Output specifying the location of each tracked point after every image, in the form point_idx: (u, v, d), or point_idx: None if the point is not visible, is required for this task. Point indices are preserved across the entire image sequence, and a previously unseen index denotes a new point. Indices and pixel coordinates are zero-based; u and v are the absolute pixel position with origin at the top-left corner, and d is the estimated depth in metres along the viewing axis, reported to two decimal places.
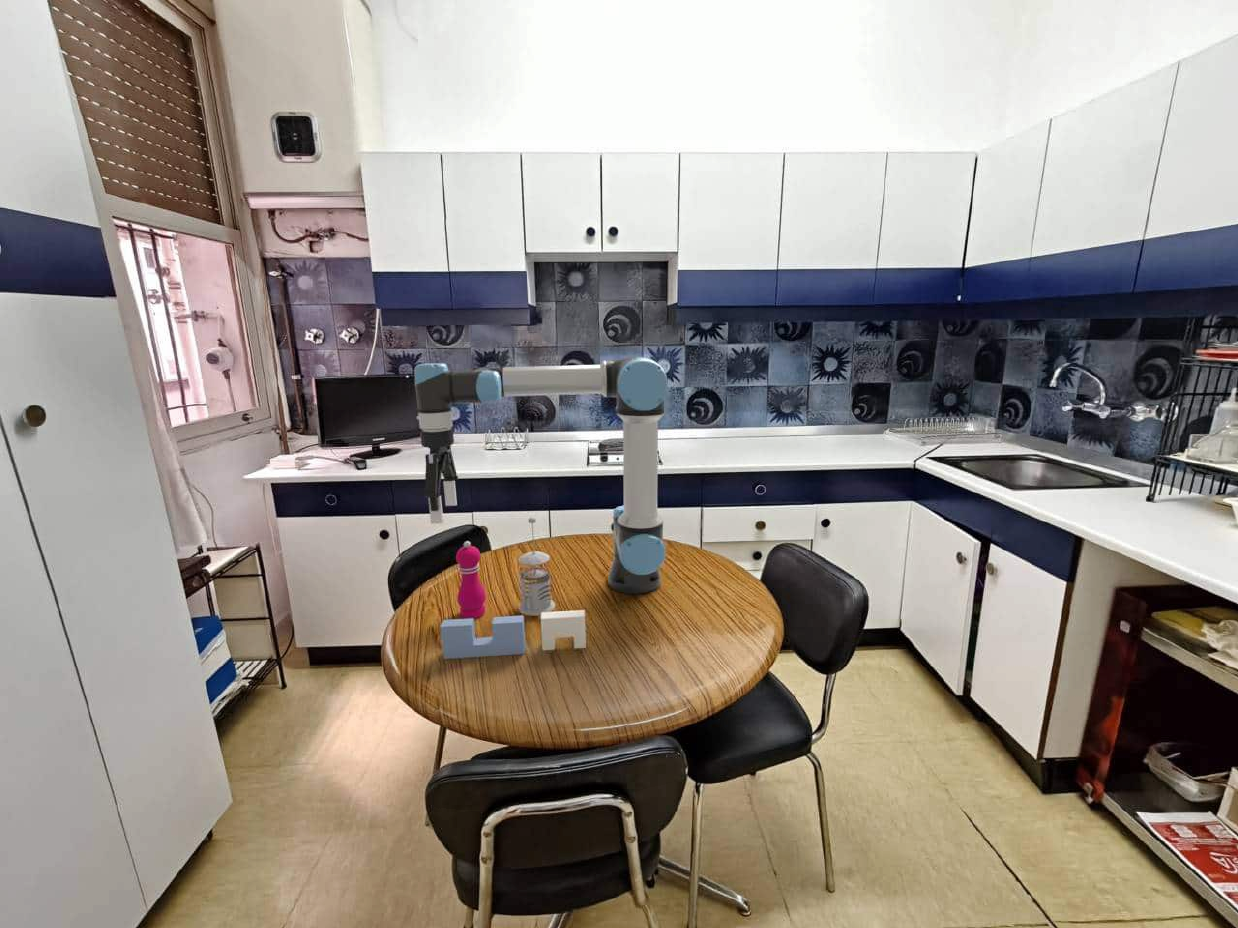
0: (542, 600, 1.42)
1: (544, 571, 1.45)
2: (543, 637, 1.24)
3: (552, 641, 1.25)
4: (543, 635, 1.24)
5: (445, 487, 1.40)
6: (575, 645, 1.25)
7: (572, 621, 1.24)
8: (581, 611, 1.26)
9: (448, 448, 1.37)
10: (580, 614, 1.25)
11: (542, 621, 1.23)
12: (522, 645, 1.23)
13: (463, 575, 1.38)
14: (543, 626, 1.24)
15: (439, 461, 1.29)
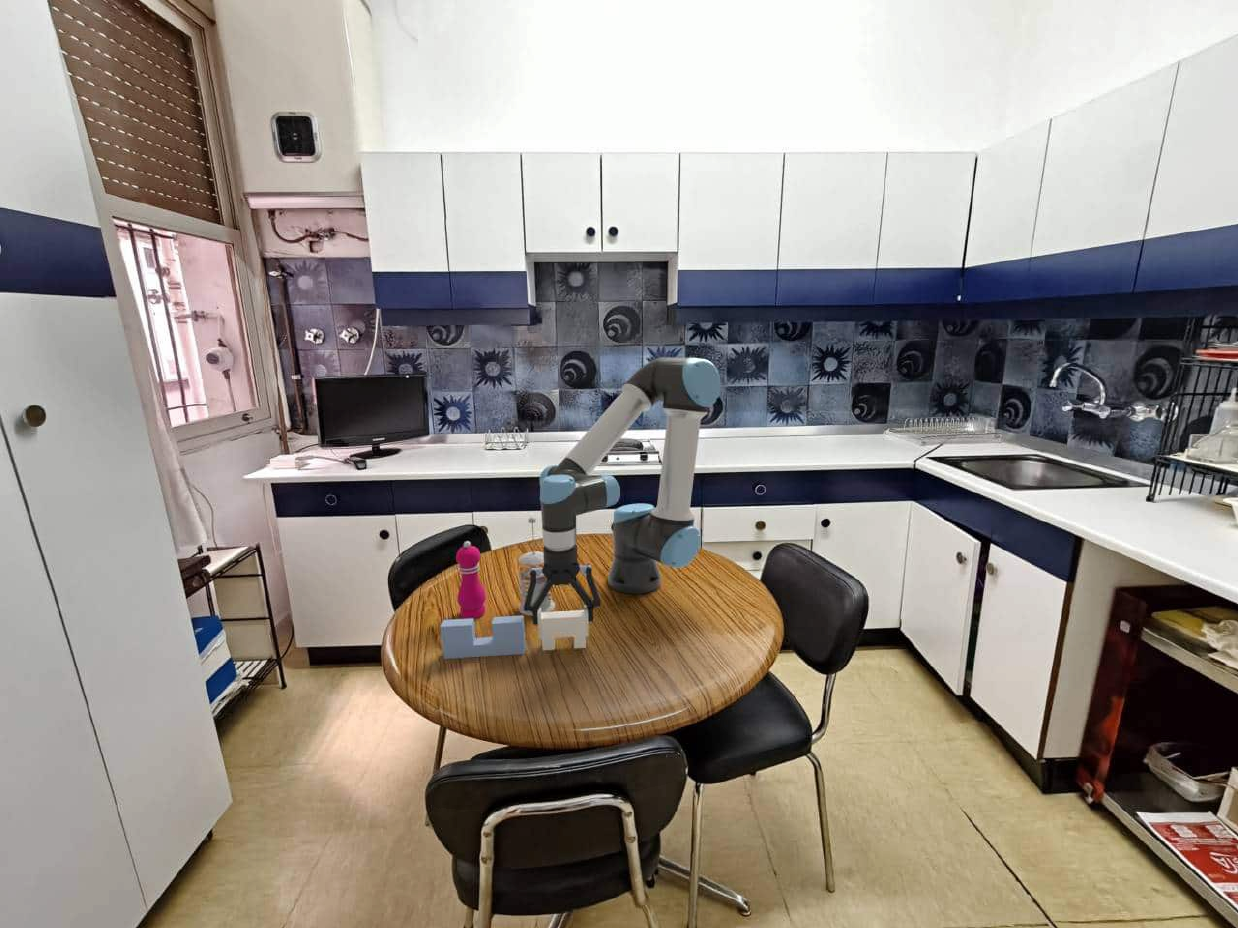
0: None
1: None
2: (543, 637, 1.24)
3: (552, 641, 1.25)
4: (543, 635, 1.24)
5: None
6: (575, 645, 1.25)
7: (572, 621, 1.24)
8: (581, 611, 1.26)
9: (586, 571, 1.22)
10: (580, 614, 1.25)
11: (542, 621, 1.23)
12: (522, 645, 1.23)
13: (463, 575, 1.38)
14: (543, 626, 1.24)
15: (546, 577, 1.22)
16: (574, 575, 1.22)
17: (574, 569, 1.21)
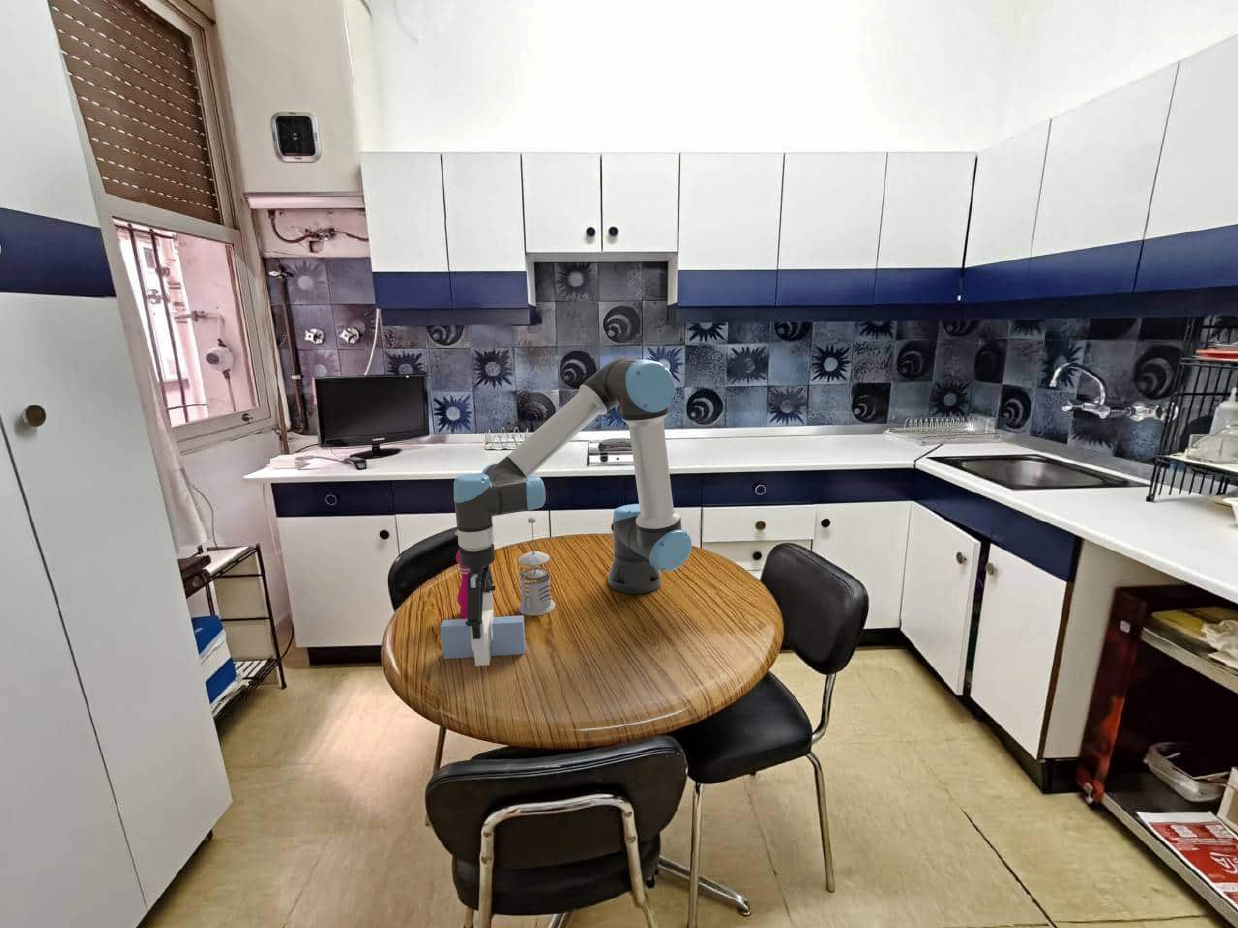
0: (542, 600, 1.42)
1: (544, 571, 1.45)
2: (488, 650, 1.19)
3: (489, 650, 1.21)
4: (488, 648, 1.19)
5: None
6: None
7: (491, 620, 1.25)
8: (482, 611, 1.27)
9: None
10: (488, 611, 1.27)
11: (486, 634, 1.18)
12: (522, 645, 1.23)
13: (463, 575, 1.38)
14: (487, 639, 1.19)
15: (480, 581, 1.17)
16: None
17: None
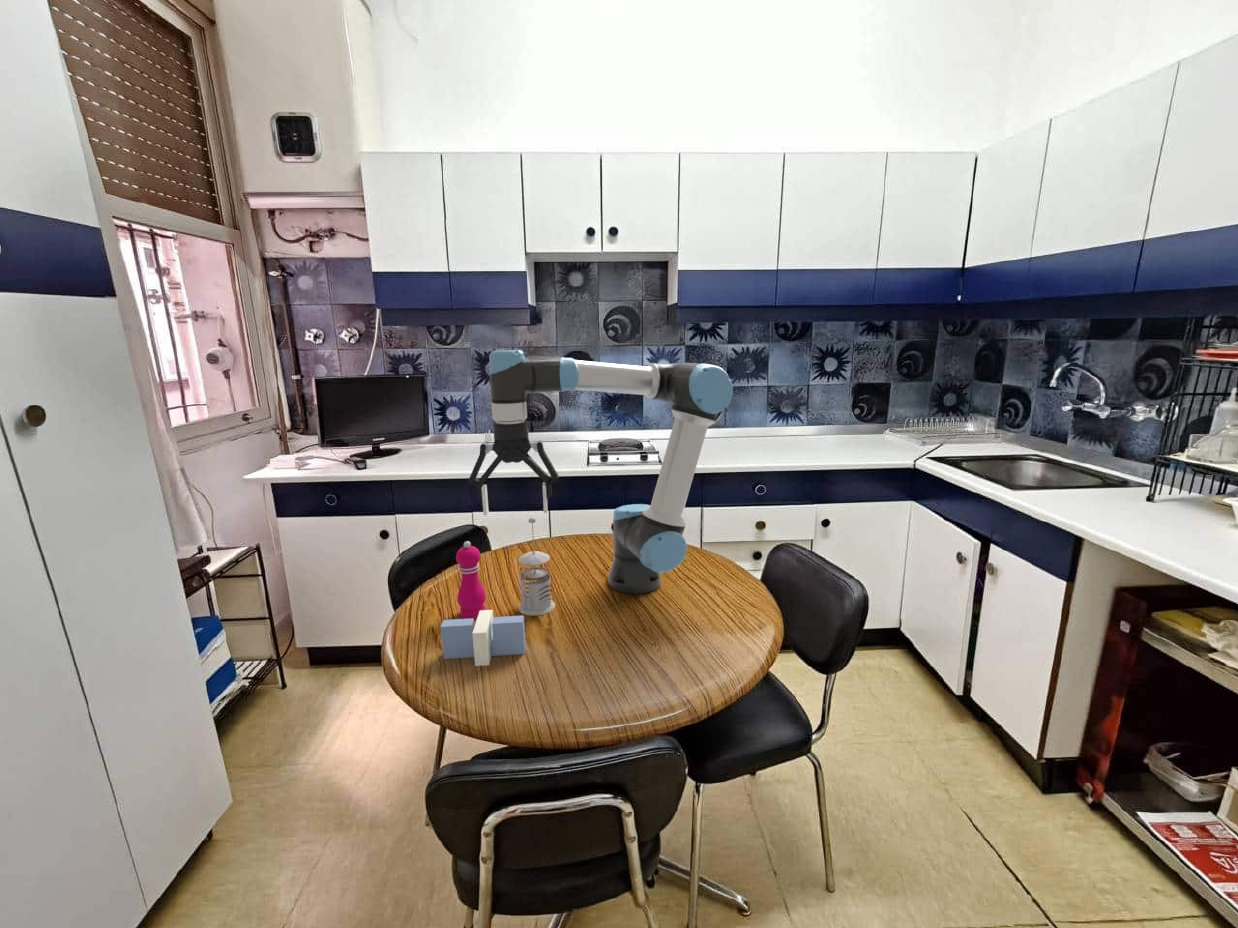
0: (542, 600, 1.42)
1: (544, 571, 1.45)
2: (488, 650, 1.19)
3: (489, 650, 1.21)
4: (488, 648, 1.19)
5: None
6: None
7: (491, 620, 1.25)
8: (482, 611, 1.27)
9: (537, 447, 1.22)
10: (488, 611, 1.27)
11: (486, 634, 1.18)
12: (522, 645, 1.23)
13: (463, 575, 1.38)
14: (487, 639, 1.19)
15: (497, 454, 1.21)
16: (525, 452, 1.22)
17: (525, 446, 1.21)
